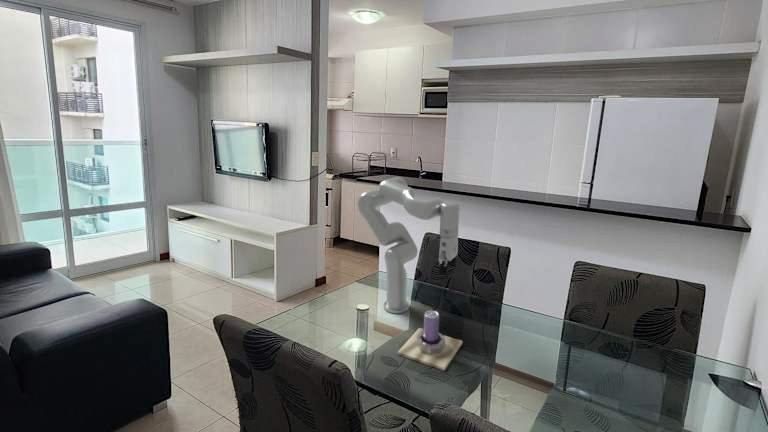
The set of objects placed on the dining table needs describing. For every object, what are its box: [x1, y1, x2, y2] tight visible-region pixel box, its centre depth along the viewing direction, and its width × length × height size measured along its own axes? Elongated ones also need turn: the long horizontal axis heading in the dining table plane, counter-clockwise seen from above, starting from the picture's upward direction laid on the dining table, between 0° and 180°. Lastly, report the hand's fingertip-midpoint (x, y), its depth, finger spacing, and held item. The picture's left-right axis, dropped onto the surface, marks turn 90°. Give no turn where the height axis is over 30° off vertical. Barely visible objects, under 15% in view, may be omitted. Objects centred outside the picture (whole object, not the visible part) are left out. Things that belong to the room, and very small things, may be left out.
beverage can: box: [423, 310, 440, 345], centre depth 167 cm, size 6×6×15 cm
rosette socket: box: [397, 327, 464, 371], centre depth 169 cm, size 20×20×5 cm
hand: (447, 269), depth 175 cm, fingers open, 9 cm apart
